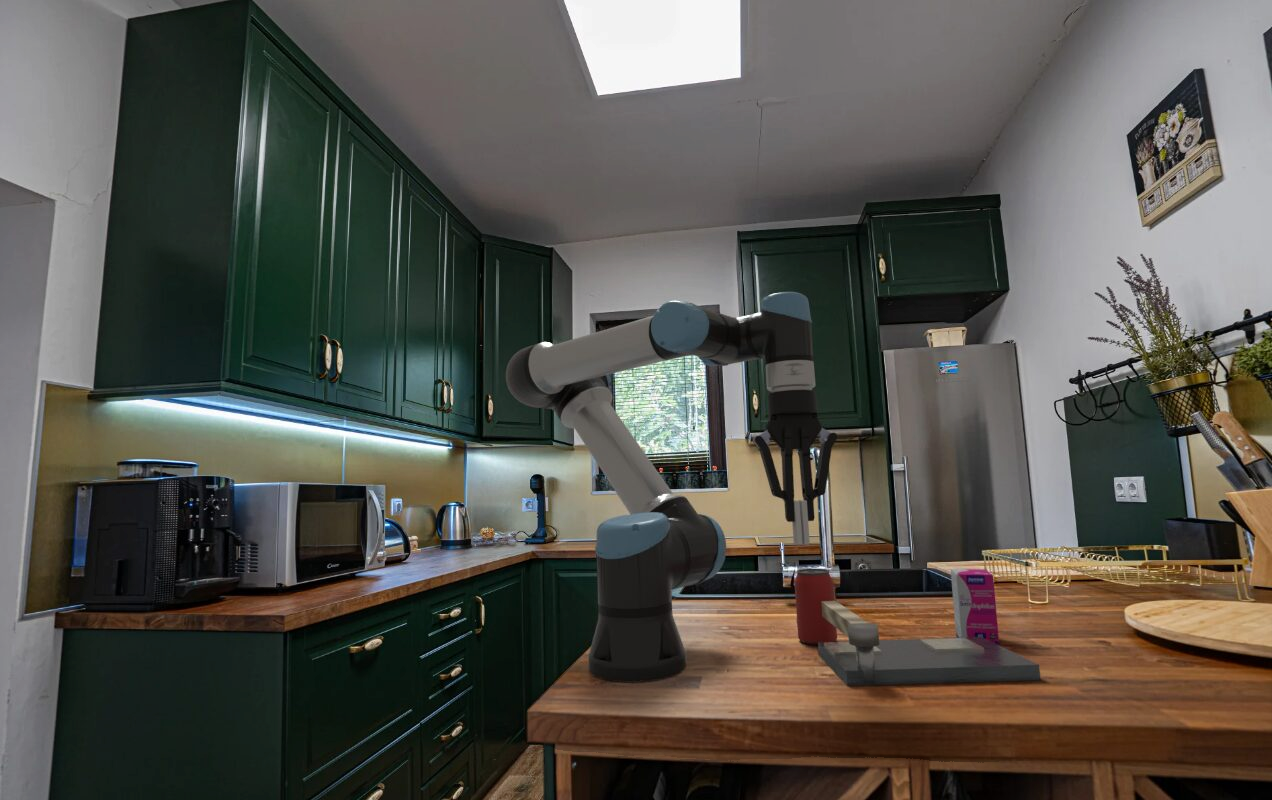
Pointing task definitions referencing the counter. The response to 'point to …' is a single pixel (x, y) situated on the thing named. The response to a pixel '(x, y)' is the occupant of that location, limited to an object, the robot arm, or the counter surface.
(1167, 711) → the counter surface
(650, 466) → the robot arm
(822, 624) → the beer can
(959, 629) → the supplement box
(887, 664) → the board
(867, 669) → the post
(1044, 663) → the counter surface
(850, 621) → the rail
